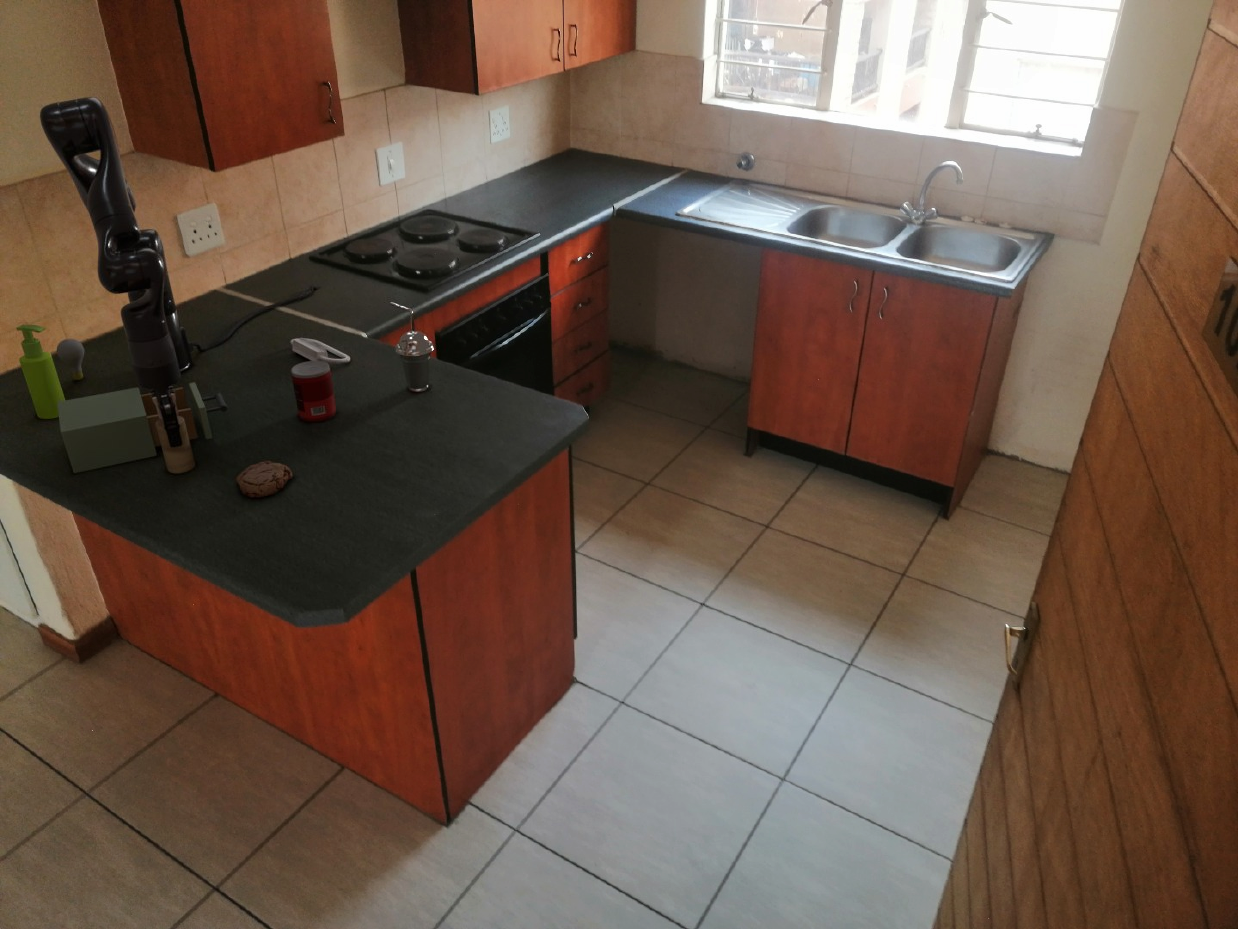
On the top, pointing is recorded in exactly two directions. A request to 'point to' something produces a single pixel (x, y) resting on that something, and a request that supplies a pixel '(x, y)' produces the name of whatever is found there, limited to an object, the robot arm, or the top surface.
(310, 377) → the canned food
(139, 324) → the robot arm
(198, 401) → the drawer
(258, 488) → the cookie
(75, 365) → the light bulb
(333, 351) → the white long looped piece
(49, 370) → the soap dispenser
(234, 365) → the top surface
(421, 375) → the cup with straw
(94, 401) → the cabinet
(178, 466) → the roller
